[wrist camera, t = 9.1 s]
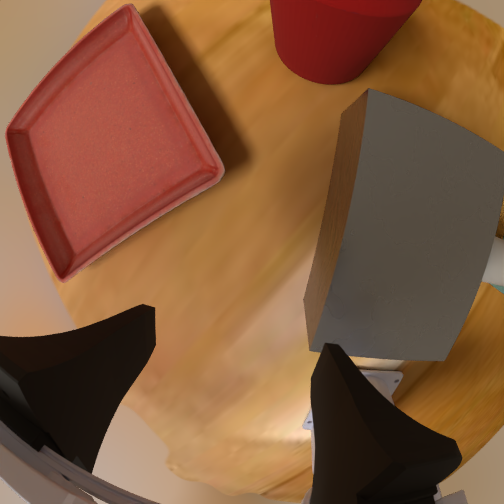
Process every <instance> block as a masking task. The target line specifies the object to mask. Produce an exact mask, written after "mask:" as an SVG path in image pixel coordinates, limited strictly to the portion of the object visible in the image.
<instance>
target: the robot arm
mask: <svg viewBox="0 0 504 504" xmlns="http://www.w3.org/2000/svg"><path fill="white" fill-rule="evenodd" d="M155 346H156V333H155V307H151V306H148V305H144V304H141V305H138V306H136V307H133V308H131V309H129V310H126V311H124V312H122V313H119V314H117V315H114V316H112V317H110V318H107V319H105V320H102V321H100V322H97V323H94V324H91V325H89V326H86V327H83V328H79V329H76V330H72V331H68V332H64V333H58V334H52V335H45V336H36V337H7V336H0V479H1V480H2V481H3V482H4V483H5V484H6V485H7V486H8V487H9V488H11V489H12V490H13V491H14V492H15V493H16V494H18V496H19V497H20V498H22V499H23V500H24V501H25V502H26V503H28V504H97V503H96V502H95V501H94V499H93V498H92V496H90V495H88V494H87V493H89V494H91V495H93V496H95V497H96V498H98V499H100V500H102V501H104V502H106V503H109V504H160V503H156V502H154V501H151V500H148V499H146V498H143V497H140V496H138V495H135V494H133V493H130V492H128V491H126V490H123V489H121V488H119V487H117V486H114V485H112V484H110V483H108V482H106V481H104V480H102V479H100V478H98V477H96V476H94V475H92V471H93V468H94V464H95V461H96V458H97V455H98V452H99V449H100V447H101V444H102V441H103V439H104V436H105V434H106V432H107V429H108V427H109V425H110V422H111V420H112V418H113V416H114V414H115V412H116V410H117V408H118V406H119V404H120V402H121V401H122V399H123V397H124V396H125V394H126V393H127V392H128V390H129V389H130V387H131V386H132V384H133V383H134V381H135V380H136V378H137V377H138V376H139V374H140V373H141V371H142V370H143V368H144V367H145V365H146V364H147V362H148V360H149V358H150V356H151V354H152V352H153V350H154V348H155ZM402 378H403V373H402V372H399V371H377V370H362V369H358V368H357V366H356V365H355V364H354V363H353V361H352V360H351V359H350V358H349V356H348V355H347V354H346V353H345V351H344V350H343V349H342V348H341V346H340V345H339V344H332V343H325V344H324V346H323V349H322V352H321V354H320V357H319V359H318V362H317V364H316V367H315V369H314V372H313V374H312V377H311V396H310V398H311V409H310V411H309V413H308V415H307V417H306V419H305V421H304V423H303V425H302V428H303V429H307V430H311V442H312V470H313V474H314V475H313V485H312V488H310V489H309V490H308V491H307V492H306V494H305V496H304V498H303V500H302V502H301V504H468V503H467V500H466V496H465V493H464V491H463V490H460V491H458V492H455V493H453V494H450V495H447V496H445V497H442V496H441V491H440V488H439V483H440V482H441V481H442V480H444V479H445V478H446V477H447V476H449V475H450V474H451V473H452V472H453V471H454V470H455V469H456V468H457V467H458V466H459V465H460V463H461V461H462V455H461V453H460V450H459V448H458V446H457V443H456V441H455V440H454V439H451V438H449V437H446V436H444V435H442V434H439V433H437V432H435V431H433V430H431V429H429V428H427V427H425V426H423V425H422V424H420V423H418V422H417V421H415V420H413V419H412V418H411V417H409V416H408V415H406V414H405V413H403V412H402V411H401V410H399V409H398V408H397V407H396V406H395V405H394V402H393V399H392V397H391V396H392V394H393V393H394V391H395V389H396V388H397V386H398V384H399V383H400V381H401V379H402ZM76 486H77V487H76ZM79 488H80V489H79ZM81 489H82V490H83V491H82V490H81ZM84 491H85V492H87V493H85V492H84Z"/></svg>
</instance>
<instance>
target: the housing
mask: <svg viewBox="0 0 504 504" xmlns="http://www.w3.org/2000/svg"><path fill="white" fill-rule="evenodd" d="M503 196H504V152H503V151H502V150H500V149H499V148H497V147H496V146H494V145H492V144H491V143H489V142H488V141H486V140H484V139H483V138H481V137H479V136H478V135H476V134H474V133H472V132H471V131H469V130H467V129H465V128H463V127H461V126H459V125H458V124H456V123H454V122H452V121H450V120H448V119H446V118H444V117H441V116H439V115H437V114H435V113H433V112H431V111H428V110H426V109H424V108H421V107H419V106H417V105H414V104H412V103H409V102H407V101H404V100H402V99H399V98H396V97H393V96H391V95H388V94H385V93H382V92H379V91H376V90H373V89H370V88H368V89H367V90H366V91H365V92H364V93H363V94H362V95H361V96H360V97H359V98H358V99H357V100H356V101H355V102H353V103H352V104H351V105H350V106H349V107H348V108H347V109H346V110H345V111H344V112H343V113H342V114H341V121H340V128H339V135H338V141H337V147H336V153H335V159H334V165H333V170H332V176H331V181H330V186H329V191H328V196H327V201H326V206H325V211H324V216H323V221H322V225H321V230H320V234H319V239H318V243H317V247H316V252H315V256H314V260H313V264H312V268H311V272H310V276H309V280H308V284H307V288H306V292H305V296H304V299H303V300H304V308H305V316H306V325H307V333H308V342H309V351H313V352H320V353H321V352H322V349H323V346H324V344H325V343H332V344H339V345H340V346H341V348H342V349H343V350H344V351H345V353H346V354H347V355H348V356H355V357H366V358H379V359H394V360H415V361H445V359H446V357H447V356H448V354H449V352H450V350H451V348H452V346H453V344H454V342H455V341H456V339H457V337H458V335H459V333H460V331H461V328H462V326H463V324H464V322H465V320H466V318H467V315H468V313H469V311H470V309H471V306H472V304H473V301H474V299H475V296H476V294H477V291H478V289H479V286H480V283H481V281H482V278H483V275H484V272H485V269H486V266H487V263H488V260H489V256H490V253H491V249H492V246H493V242H494V238H495V234H496V230H497V226H498V222H499V217H500V212H501V207H502V202H503Z"/></svg>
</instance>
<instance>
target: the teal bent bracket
mask: <svg viewBox="0 0 504 504" xmlns="http://www.w3.org/2000/svg"><path fill="white" fill-rule="evenodd" d="M482 281H483V282H487V283H489V284H491V285H492V286H494V287H495V288H496V289H498V290H499V291H500V292H502V293H503V294H504V237H503V239H500V238H498V237H496V236H495V238H494V242H493V246H492V249H491V253H490V256H489V260H488V263H487V266H486V269H485V272H484V275H483V278H482Z"/></svg>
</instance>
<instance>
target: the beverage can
mask: <svg viewBox="0 0 504 504" xmlns="http://www.w3.org/2000/svg"><path fill="white" fill-rule="evenodd" d="M421 1H422V0H270V5H271V14H272V22H273V31H274V38H275V46H276V50H277V53H278V55H279V57H280V59H281V60H282V62H283V63H284V64H285V65H286V66H287V67H288V68H289V69H290V70H291V71H293V72H294V73H295V74H297V75H298V76H300V77H302V78H304V79H307V80H309V81H312V82H316V83H321V84H341V83H345V82H348V81H351V80H353V79H354V78H356V77H357V76H359V75H360V74H361V73H362V72H363V71H364V69H365V68H366V67H367V66H368V65H369V64H370V63H371V62H372V60H373V59H374V58H375V57H376V56H377V55H378V53H379V52H380V51H381V50H382V49H383V48H384V47H385V45H386V44H387V43H388V42H389V41H390V39H391V38H392V37H393V36H394V35H395V34H396V32H397V31H398V30H399V29H400V28H401V27H402V25H403V24H404V23H405V22H406V21H407V19H408V18H409V17H410V16H411V15H412V13H413V12H414V11H415V10H416V9H417V8H418V6H419V5H420V3H421Z"/></svg>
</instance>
